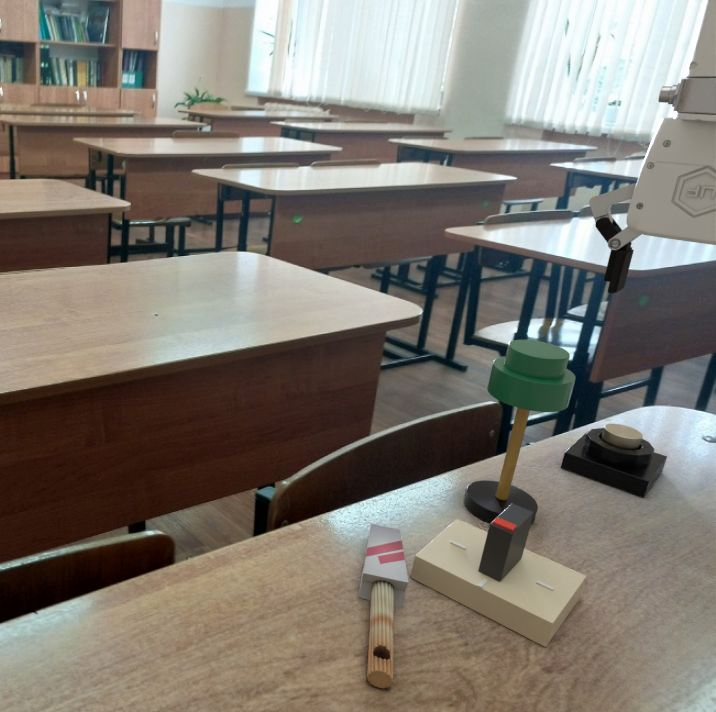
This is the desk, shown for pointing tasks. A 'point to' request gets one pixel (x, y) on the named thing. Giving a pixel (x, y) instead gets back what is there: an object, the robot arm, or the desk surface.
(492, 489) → the desk lamp
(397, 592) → the paintbrush
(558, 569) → the dimmer
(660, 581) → the desk surface
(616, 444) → the button
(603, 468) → the lamp switch
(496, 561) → the dimmer knob
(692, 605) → the desk surface
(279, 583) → the desk surface
